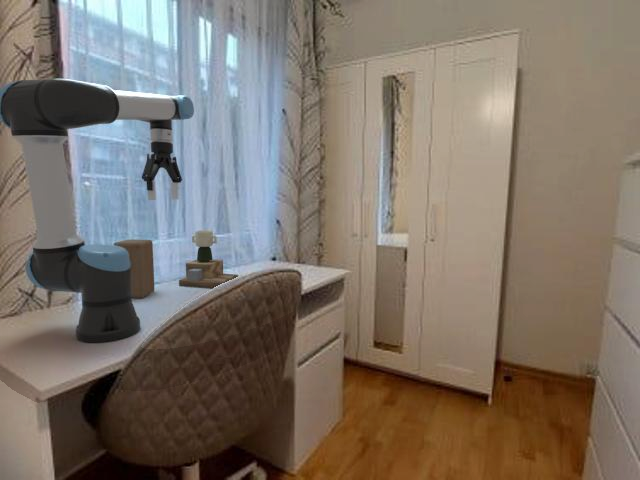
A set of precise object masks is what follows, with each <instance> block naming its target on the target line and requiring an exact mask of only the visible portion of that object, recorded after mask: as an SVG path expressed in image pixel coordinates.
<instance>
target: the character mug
mask: <svg viewBox="0 0 640 480" xmlns="http://www.w3.org/2000/svg"><path fill="white" fill-rule="evenodd" d="M194 233H195V234H192V235H191V242H192V243H194V244H195V247H198V249H197V256H196V260H198V261H207V262H209V260H214V259H213V253H212V248H211V247H212V246H213V245H214V244H217V241H218V239H217V235H216V234H215V235H214V231H213V230H207V229H204V230H203V229H202V230H195V232H194Z"/></svg>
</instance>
